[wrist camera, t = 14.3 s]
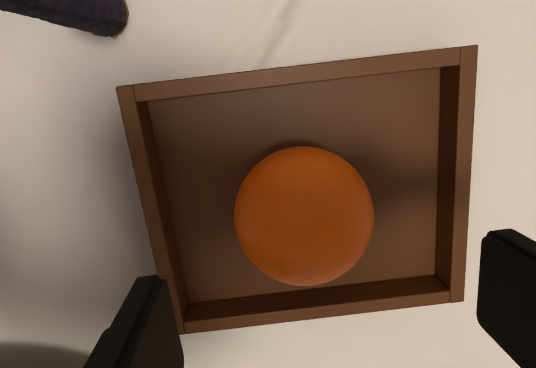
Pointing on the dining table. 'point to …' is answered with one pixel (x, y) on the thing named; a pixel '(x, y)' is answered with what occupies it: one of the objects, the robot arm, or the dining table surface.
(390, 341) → the dining table surface
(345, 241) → the mandarin
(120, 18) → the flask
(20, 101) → the dining table surface
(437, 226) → the tray
